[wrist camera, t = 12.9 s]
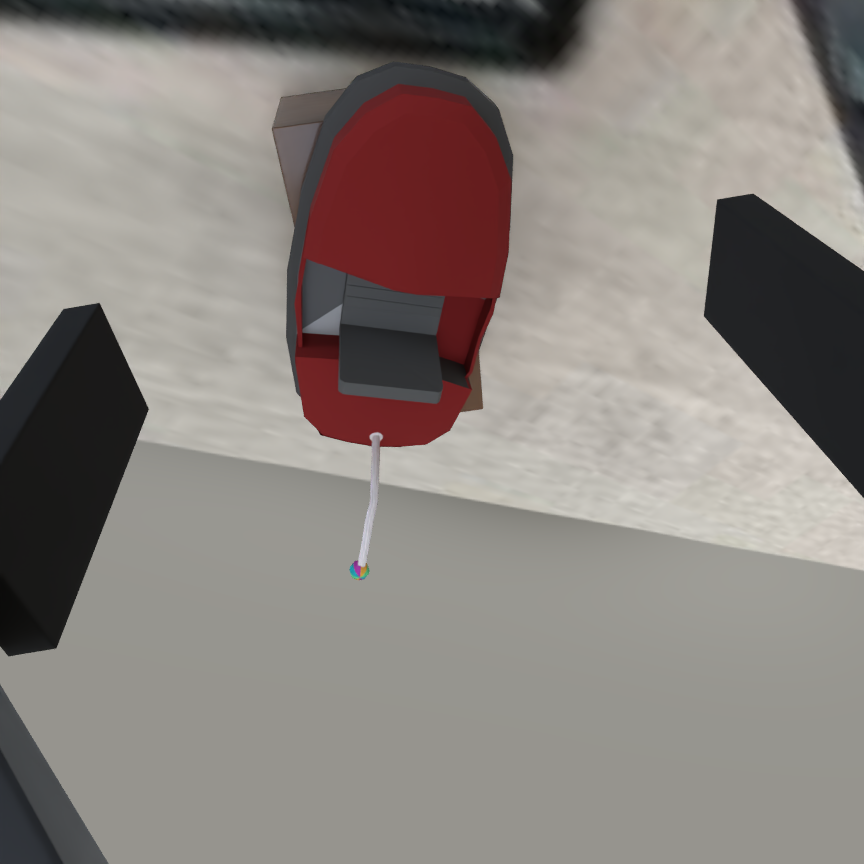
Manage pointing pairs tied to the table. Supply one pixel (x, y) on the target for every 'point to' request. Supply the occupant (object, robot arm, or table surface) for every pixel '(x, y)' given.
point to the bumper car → (397, 259)
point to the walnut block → (295, 149)
